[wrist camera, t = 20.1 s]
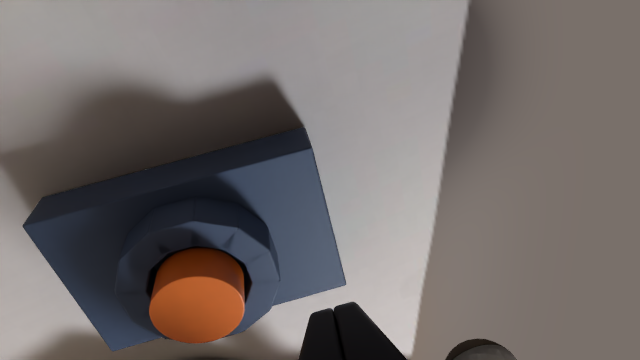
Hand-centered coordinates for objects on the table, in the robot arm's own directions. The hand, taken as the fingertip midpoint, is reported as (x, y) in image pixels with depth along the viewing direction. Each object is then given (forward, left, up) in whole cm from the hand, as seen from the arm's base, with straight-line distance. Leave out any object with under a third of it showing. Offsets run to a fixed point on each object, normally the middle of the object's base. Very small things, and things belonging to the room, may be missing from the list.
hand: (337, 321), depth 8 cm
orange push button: (+5, +6, -9) cm, 12 cm away
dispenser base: (+5, +6, -13) cm, 15 cm away
